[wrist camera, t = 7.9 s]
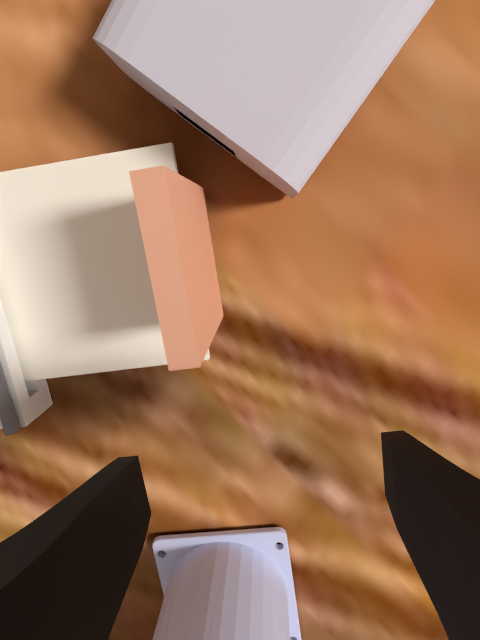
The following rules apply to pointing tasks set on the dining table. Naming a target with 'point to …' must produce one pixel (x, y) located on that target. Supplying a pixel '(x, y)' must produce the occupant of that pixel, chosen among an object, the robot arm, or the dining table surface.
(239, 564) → the robot arm
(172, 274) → the cream boxy piece
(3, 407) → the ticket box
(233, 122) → the charger
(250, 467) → the dining table surface
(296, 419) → the dining table surface
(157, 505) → the dining table surface
